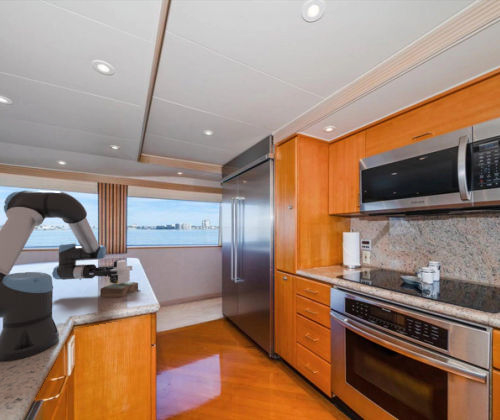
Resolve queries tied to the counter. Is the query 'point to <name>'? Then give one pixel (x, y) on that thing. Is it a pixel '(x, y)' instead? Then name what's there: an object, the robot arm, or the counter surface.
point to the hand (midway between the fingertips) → (128, 269)
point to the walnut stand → (119, 289)
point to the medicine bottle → (120, 278)
